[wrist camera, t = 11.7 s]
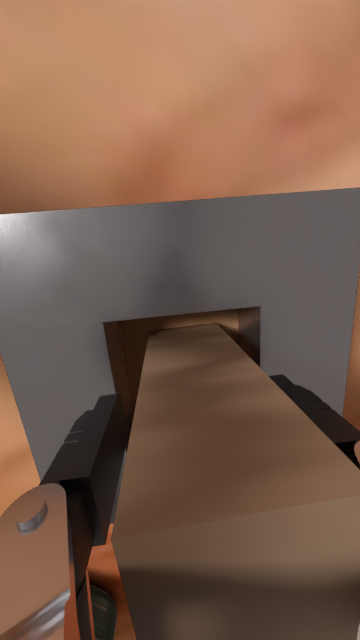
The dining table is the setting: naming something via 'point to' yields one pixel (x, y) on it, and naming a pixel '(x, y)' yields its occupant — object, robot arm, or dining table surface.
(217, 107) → the dining table surface
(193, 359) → the tan square peg
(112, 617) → the coffee jar
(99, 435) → the robot arm
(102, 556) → the dining table surface
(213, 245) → the square hole plate
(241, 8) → the dining table surface
